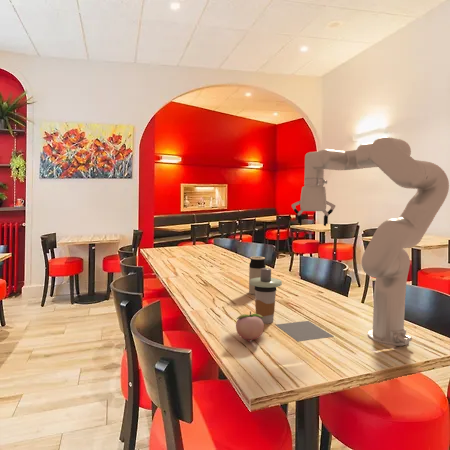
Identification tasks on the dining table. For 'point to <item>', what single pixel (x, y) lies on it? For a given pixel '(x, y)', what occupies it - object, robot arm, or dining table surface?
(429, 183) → the robot arm
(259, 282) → the lid
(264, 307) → the coffee cup
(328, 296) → the dining table surface
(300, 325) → the mat
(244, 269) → the dining table surface
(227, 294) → the dining table surface
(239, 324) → the decorative fruit
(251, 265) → the travel mug
